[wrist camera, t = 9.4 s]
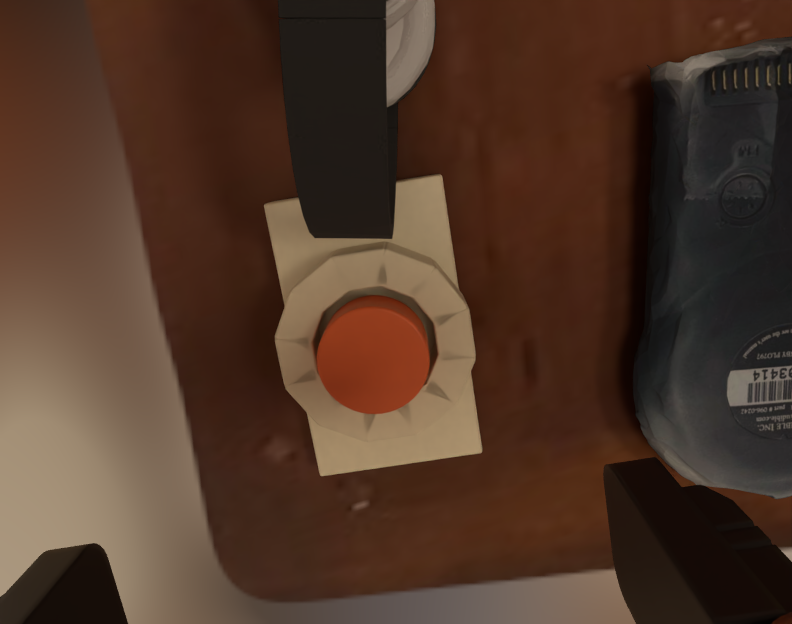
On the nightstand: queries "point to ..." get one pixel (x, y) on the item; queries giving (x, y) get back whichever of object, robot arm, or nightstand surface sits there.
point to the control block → (393, 277)
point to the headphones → (350, 105)
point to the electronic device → (720, 270)
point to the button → (374, 355)
